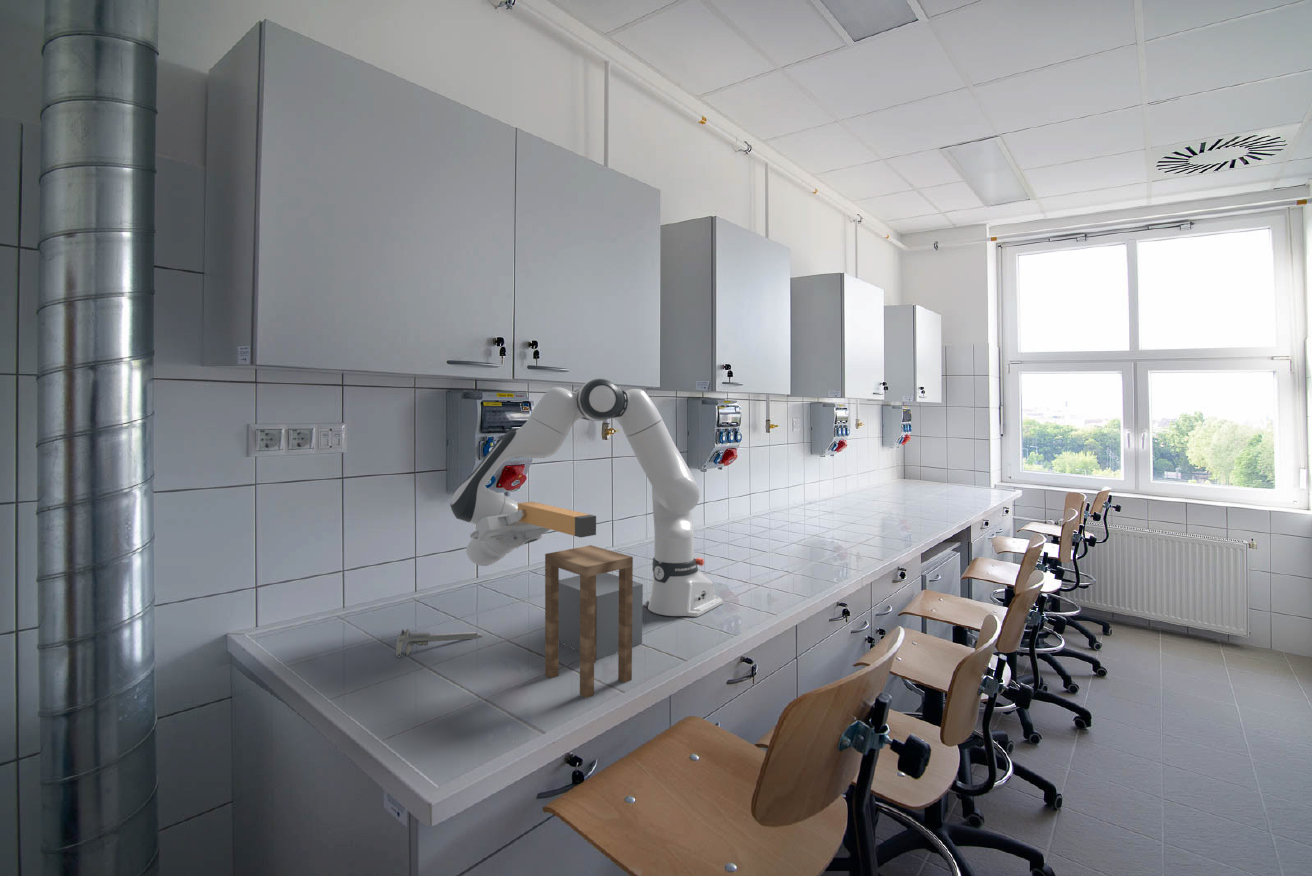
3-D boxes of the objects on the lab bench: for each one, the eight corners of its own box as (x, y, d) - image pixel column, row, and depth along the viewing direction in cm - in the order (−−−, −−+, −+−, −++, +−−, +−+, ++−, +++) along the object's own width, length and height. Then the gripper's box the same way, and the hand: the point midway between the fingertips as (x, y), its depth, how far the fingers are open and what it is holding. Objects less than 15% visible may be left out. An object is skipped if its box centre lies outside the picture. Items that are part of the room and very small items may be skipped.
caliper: (397, 659, 142) (397, 631, 142) (396, 657, 143) (395, 630, 142) (482, 637, 155) (482, 612, 155) (480, 636, 156) (480, 611, 156)
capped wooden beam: (532, 518, 150) (532, 501, 149) (596, 534, 132) (596, 515, 132) (517, 520, 147) (517, 503, 147) (580, 537, 130) (580, 518, 129)
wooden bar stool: (590, 659, 142) (590, 545, 140) (631, 679, 132) (632, 556, 130) (545, 675, 134) (545, 553, 132) (586, 698, 124) (586, 567, 122)
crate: (599, 626, 163) (600, 570, 162) (642, 643, 152) (642, 584, 151) (554, 640, 153) (555, 581, 153) (596, 659, 142) (596, 596, 141)
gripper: (463, 526, 148) (489, 503, 139) (537, 515, 162) (565, 494, 153) (470, 551, 146) (497, 530, 137) (544, 538, 160) (573, 518, 151)
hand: (533, 511), depth 145 cm, fingers closed on capped wooden beam, 4 cm apart
